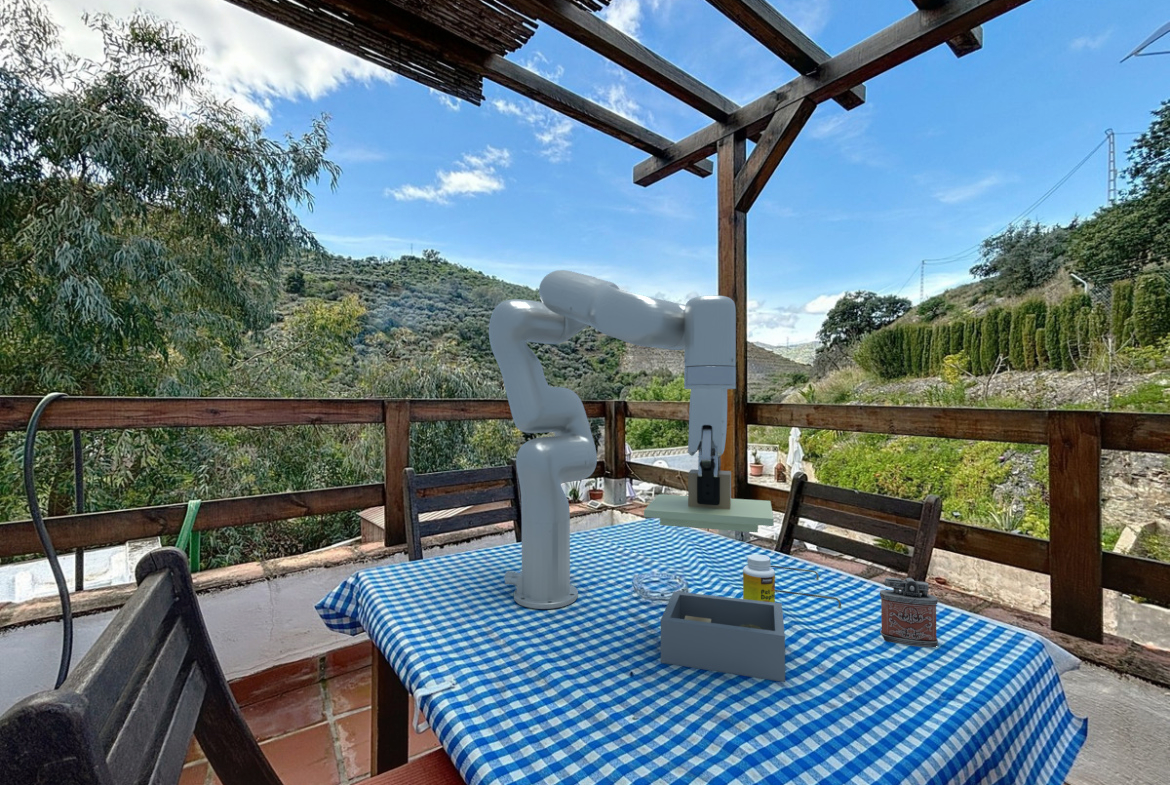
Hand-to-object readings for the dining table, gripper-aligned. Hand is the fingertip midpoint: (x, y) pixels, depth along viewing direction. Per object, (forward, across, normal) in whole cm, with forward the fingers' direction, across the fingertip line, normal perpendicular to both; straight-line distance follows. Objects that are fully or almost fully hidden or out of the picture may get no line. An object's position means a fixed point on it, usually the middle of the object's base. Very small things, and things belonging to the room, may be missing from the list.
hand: (709, 499), depth 80 cm
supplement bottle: (+24, -20, +7) cm, 32 cm away
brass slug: (+23, -1, +6) cm, 24 cm away
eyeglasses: (+25, -34, +14) cm, 44 cm away
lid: (+3, 0, 0) cm, 3 cm away
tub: (+24, -1, +2) cm, 24 cm away
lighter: (+24, -16, +30) cm, 42 cm away
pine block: (+23, -2, -2) cm, 23 cm away
